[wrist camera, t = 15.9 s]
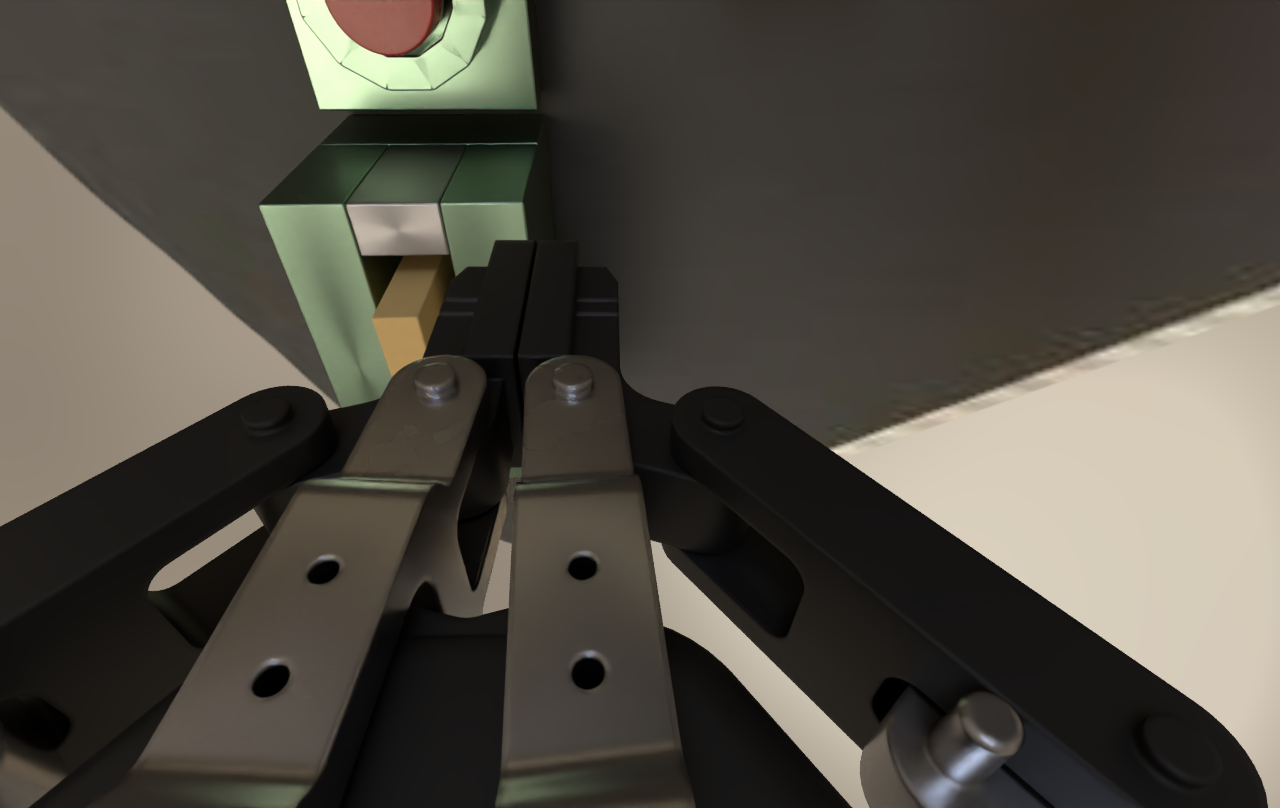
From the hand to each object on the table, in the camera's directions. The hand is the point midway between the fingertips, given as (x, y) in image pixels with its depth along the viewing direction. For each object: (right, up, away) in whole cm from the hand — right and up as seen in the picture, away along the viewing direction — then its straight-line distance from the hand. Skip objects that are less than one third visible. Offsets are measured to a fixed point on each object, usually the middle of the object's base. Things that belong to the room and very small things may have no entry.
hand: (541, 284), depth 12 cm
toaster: (-7, +6, +21) cm, 23 cm away
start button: (-7, +12, +10) cm, 17 cm away
